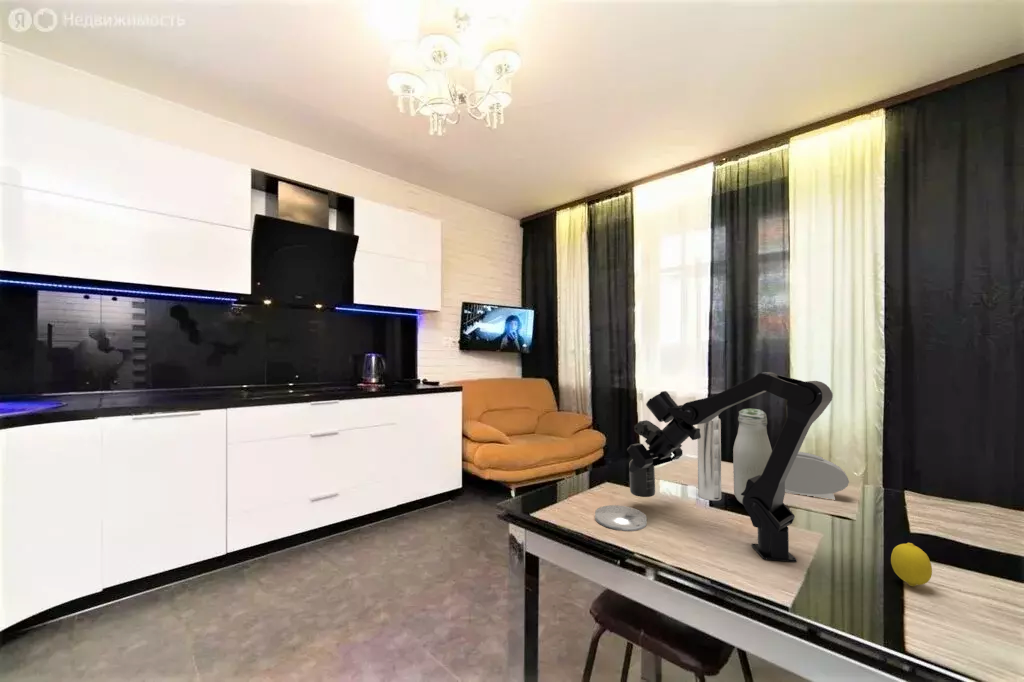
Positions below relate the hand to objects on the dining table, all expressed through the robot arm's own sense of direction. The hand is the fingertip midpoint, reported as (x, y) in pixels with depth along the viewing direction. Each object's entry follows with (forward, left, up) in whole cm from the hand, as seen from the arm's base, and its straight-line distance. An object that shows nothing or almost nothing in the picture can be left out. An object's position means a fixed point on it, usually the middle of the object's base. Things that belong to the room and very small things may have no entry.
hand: (637, 468), depth 116 cm
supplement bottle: (-1, -1, -7) cm, 7 cm away
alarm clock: (+21, -53, -11) cm, 58 cm away
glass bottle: (+6, -33, -11) cm, 35 cm away
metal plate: (-11, +6, -11) cm, 16 cm away
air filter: (+12, -23, -11) cm, 28 cm away
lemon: (-33, -45, -11) cm, 57 cm away
